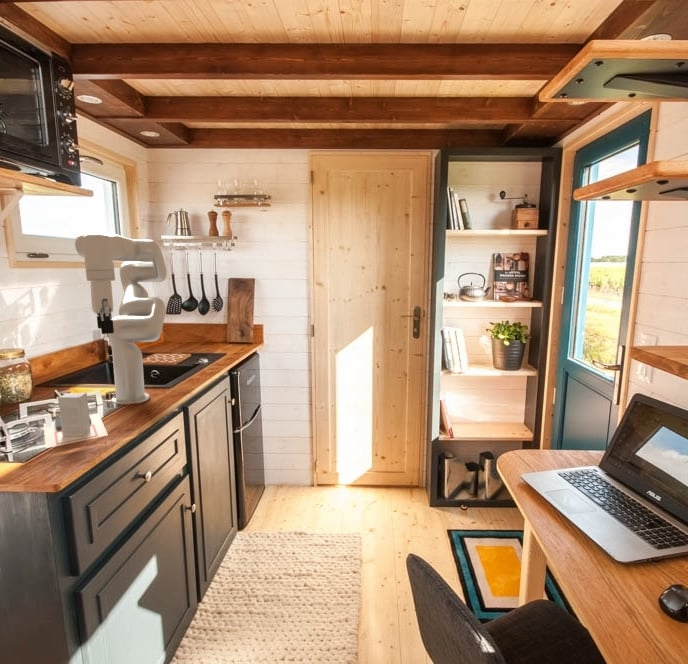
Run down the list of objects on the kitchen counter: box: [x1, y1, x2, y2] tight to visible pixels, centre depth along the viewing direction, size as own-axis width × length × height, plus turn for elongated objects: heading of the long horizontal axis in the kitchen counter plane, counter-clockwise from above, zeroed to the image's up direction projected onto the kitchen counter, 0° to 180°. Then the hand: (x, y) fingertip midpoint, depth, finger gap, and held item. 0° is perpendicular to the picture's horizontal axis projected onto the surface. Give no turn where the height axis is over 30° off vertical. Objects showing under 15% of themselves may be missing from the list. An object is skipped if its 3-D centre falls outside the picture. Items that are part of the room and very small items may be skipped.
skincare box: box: [57, 392, 91, 437], centre depth 121 cm, size 6×4×12 cm
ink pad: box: [54, 416, 91, 431], centre depth 130 cm, size 8×9×1 cm
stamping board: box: [43, 413, 109, 449], centre depth 126 cm, size 21×15×1 cm
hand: (105, 330), depth 129 cm, fingers open, 9 cm apart
